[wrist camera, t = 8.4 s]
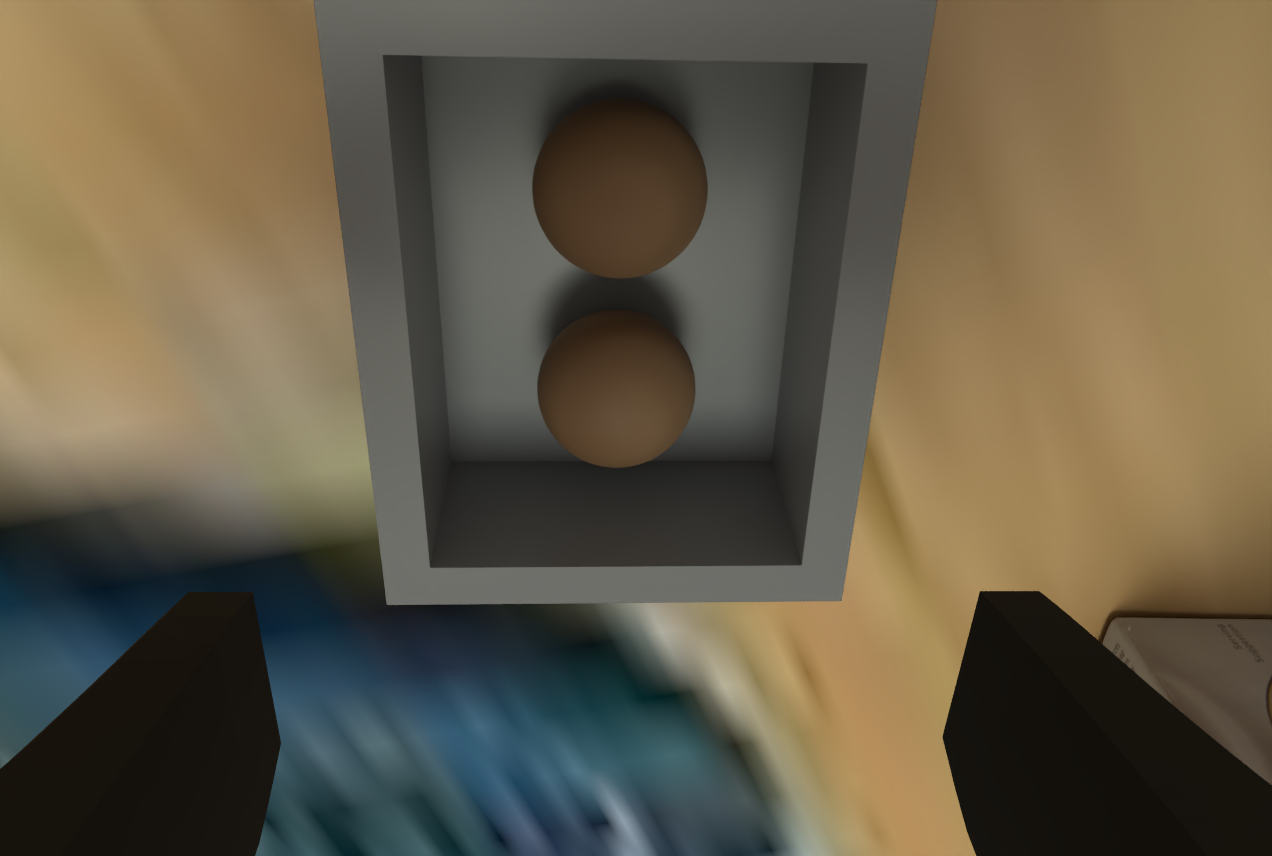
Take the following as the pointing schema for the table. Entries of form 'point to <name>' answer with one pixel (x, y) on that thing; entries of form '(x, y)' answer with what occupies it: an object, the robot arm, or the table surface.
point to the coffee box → (1208, 676)
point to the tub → (620, 287)
